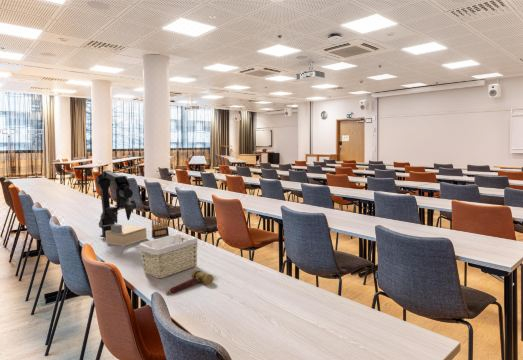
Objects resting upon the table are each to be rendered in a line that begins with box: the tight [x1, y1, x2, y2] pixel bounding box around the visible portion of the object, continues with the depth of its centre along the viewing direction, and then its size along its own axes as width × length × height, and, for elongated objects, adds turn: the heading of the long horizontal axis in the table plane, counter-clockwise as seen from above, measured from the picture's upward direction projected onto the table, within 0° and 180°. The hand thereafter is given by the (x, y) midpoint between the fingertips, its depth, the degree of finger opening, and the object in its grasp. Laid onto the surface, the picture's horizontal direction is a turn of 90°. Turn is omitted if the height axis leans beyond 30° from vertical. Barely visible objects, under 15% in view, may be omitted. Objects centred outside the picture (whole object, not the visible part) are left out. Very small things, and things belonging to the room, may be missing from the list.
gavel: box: [165, 269, 214, 295], centre depth 160 cm, size 21×5×10 cm
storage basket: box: [138, 232, 199, 279], centre depth 182 cm, size 24×16×15 cm
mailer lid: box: [105, 223, 147, 236], centre depth 236 cm, size 16×18×5 cm
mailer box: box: [105, 228, 148, 247], centre depth 236 cm, size 16×18×6 cm
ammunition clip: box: [151, 217, 170, 239], centre depth 245 cm, size 11×2×12 cm, turn 122°
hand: (122, 221), depth 231 cm, fingers open, 9 cm apart
